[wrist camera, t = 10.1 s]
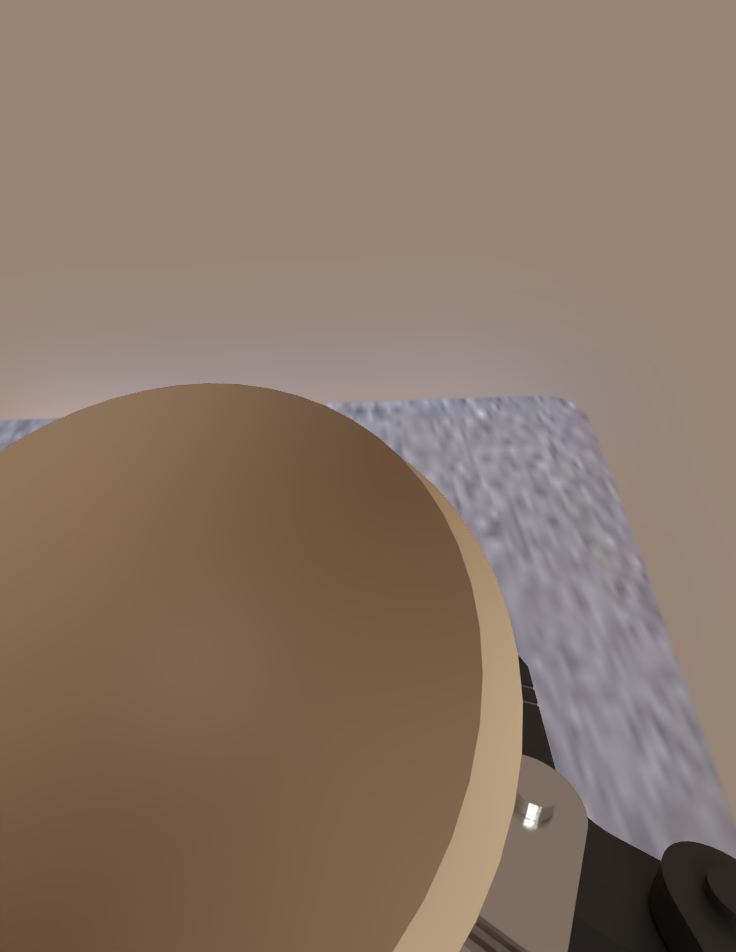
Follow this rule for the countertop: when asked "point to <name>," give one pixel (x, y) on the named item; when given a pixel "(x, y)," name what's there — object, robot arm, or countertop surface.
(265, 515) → the pepper mill
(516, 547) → the countertop surface
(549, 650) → the countertop surface
